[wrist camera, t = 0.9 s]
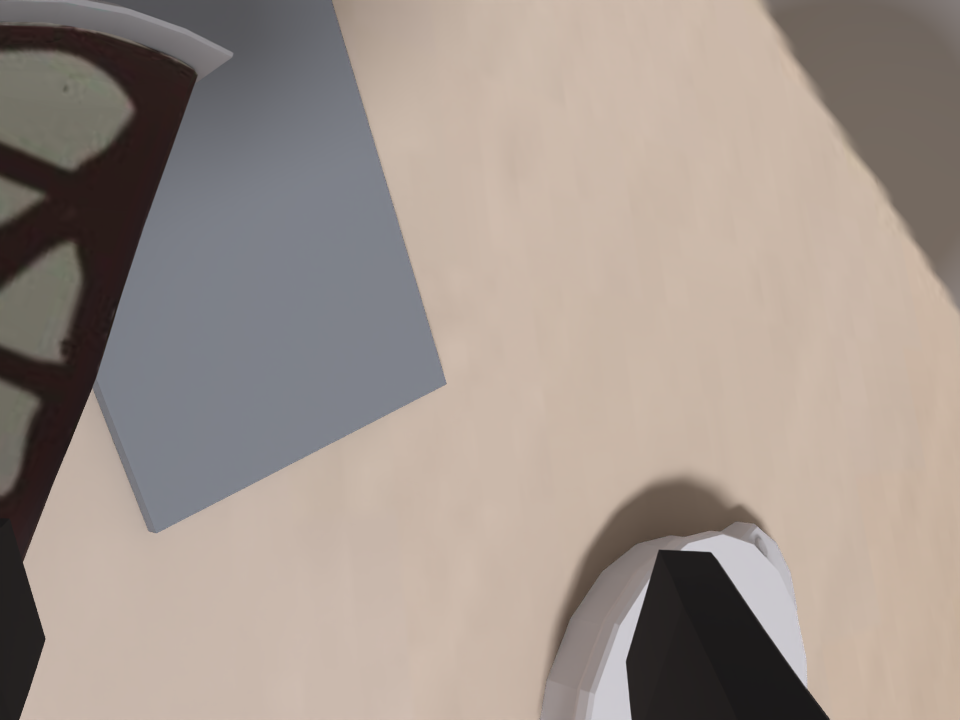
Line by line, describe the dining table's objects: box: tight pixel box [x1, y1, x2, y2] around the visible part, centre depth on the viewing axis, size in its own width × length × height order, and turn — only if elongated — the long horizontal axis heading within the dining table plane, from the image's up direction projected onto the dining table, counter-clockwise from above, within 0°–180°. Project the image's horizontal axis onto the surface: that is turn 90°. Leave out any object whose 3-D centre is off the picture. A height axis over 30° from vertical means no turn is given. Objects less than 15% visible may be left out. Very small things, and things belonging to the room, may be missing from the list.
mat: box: [93, 0, 446, 533], centre depth 26 cm, size 11×15×1 cm
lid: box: [540, 522, 807, 720], centre depth 39 cm, size 17×20×3 cm
